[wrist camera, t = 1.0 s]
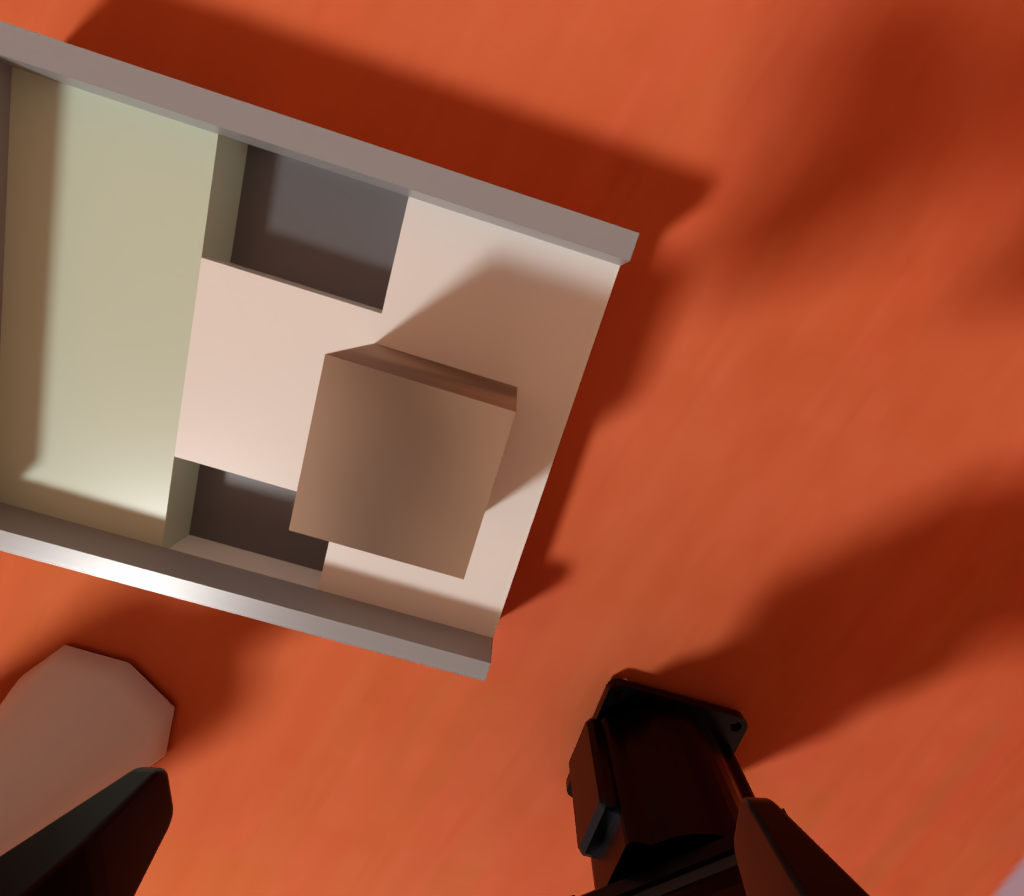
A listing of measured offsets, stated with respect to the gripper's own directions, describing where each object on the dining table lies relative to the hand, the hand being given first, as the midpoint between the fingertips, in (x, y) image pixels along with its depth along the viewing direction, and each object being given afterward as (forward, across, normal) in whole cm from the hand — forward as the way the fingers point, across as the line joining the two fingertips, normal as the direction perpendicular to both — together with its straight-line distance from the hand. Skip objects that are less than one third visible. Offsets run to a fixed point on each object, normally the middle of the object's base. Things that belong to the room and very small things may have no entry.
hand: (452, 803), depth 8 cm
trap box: (+13, +8, -5) cm, 16 cm away
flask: (+13, +18, +11) cm, 25 cm away
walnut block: (+11, +2, -3) cm, 12 cm away
